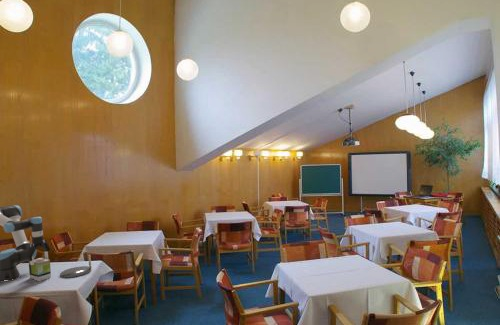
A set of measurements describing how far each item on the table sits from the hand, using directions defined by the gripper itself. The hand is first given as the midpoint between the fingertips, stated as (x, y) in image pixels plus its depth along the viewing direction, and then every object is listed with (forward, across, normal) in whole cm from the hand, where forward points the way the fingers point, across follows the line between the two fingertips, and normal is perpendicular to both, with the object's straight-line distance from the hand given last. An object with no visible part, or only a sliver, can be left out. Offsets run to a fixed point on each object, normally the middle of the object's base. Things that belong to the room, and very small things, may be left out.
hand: (39, 262), depth 265 cm
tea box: (+14, 0, 0) cm, 14 cm away
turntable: (+13, +14, -22) cm, 29 cm away
